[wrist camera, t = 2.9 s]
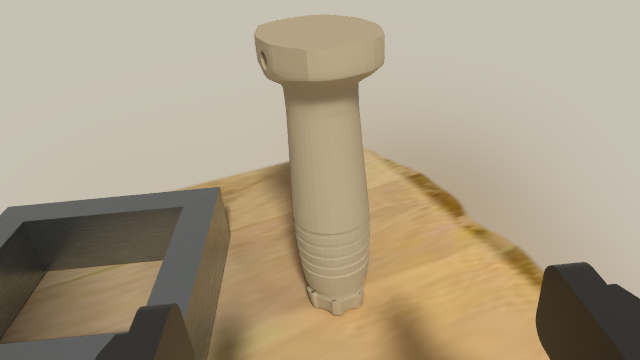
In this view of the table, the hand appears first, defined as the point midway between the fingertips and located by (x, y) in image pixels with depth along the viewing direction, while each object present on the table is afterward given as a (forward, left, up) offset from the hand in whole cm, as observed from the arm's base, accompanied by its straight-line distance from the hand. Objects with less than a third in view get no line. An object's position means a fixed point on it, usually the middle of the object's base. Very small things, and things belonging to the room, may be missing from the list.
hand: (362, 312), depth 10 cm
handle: (0, +12, -12) cm, 17 cm away
